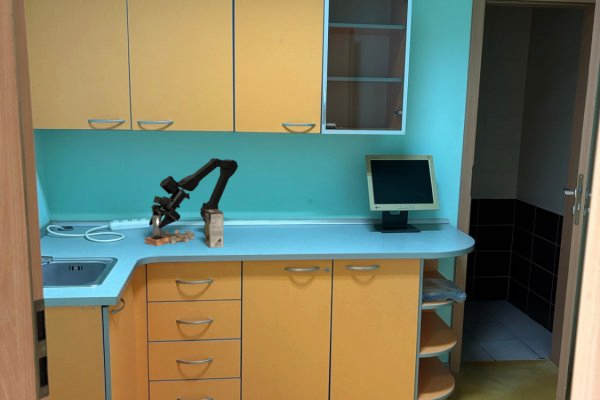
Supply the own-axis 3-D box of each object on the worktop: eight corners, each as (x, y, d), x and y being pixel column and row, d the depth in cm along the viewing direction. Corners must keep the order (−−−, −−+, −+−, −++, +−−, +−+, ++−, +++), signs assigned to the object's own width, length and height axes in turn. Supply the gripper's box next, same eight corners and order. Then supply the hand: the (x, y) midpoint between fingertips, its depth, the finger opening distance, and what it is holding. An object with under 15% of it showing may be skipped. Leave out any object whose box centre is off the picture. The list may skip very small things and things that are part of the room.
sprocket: (178, 233, 291) (178, 228, 291) (201, 238, 280) (201, 232, 280) (139, 241, 273) (139, 235, 273) (161, 247, 263) (161, 241, 262)
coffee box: (204, 243, 270) (204, 209, 268) (218, 242, 273) (217, 208, 271) (210, 248, 262) (209, 212, 260) (224, 246, 265) (223, 211, 262)
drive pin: (162, 242, 273) (161, 214, 271) (161, 244, 270) (160, 216, 268) (153, 242, 273) (152, 214, 271) (152, 244, 269) (152, 216, 267)
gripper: (154, 187, 277) (133, 212, 271) (173, 191, 263) (151, 218, 257) (169, 202, 283) (149, 227, 278) (189, 207, 269) (168, 233, 264)
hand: (154, 226), depth 269 cm, fingers open, 9 cm apart
